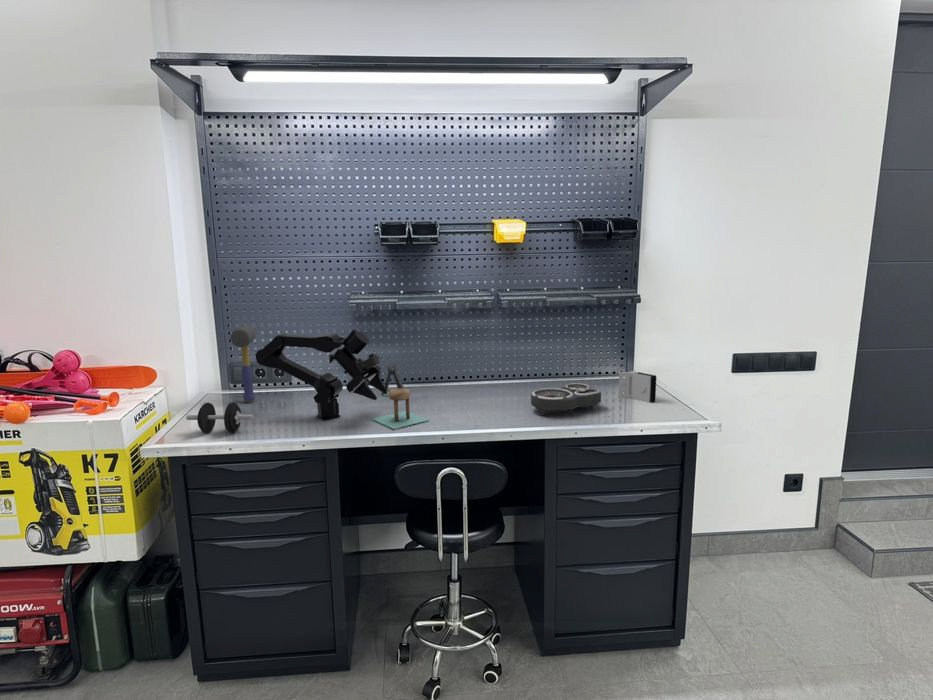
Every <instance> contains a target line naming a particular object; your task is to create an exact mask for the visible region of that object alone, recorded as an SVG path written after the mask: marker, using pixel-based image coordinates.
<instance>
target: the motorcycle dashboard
mask: <svg viewBox="0 0 933 700" xmlns="http://www.w3.org/2000/svg"><path fill="white" fill-rule="evenodd" d="M601 402H602V392H601V391H600V390H599V389H598V388H594V387H591V386H590V385H588V384H586V383H579V382H577V383H576V382H572V383H568V384H566V385H565V386H562V387H543V388H538V389H535V390H534V391H532V392H531V394H530V405H531V406H533V407H534V408H535V410H537V411H540V412H541V413H540V414H542V417H545V415H546V414H548V413H550V414H554V413H559V412H564V411H568V410H569V411H570V412H573V410H574V409H576V408H587V407H588V408H589V407H593V406H598V404H600V403H601Z"/></svg>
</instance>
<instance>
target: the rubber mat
mask: <svg viewBox="0 0 933 700" xmlns="http://www.w3.org/2000/svg"><path fill="white" fill-rule="evenodd" d="M409 412H410V419H406V410H404V411H398V417H399V422H395V415H394V413H392V414H391V413H390V414H387V415H383V416H378V417H374V418H372V421H373V420H374V421H373V422H375V421H376V422H375V423H377V422H378V424H379V425H382V424H383V425H382V426H384V425H385V426H384V427H386V426H387V428H388V427H390V428H392V429H396V430H398V429H397V428H400V427H404V428H406V427H405V426H408V427H410V426H409V425H412V426H414V425H413V424H416V425H418V424H417V423H420V424H423V423H422V422H425V423H427V422H426V421H429V422H430V419H428V418H426V417H424V416H421V415H419V414H416V413H414V412H411V411H409ZM390 428H389V429H390ZM392 429H391V430H392ZM400 429H401V428H400Z"/></svg>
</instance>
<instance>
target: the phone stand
mask: <svg viewBox="0 0 933 700" xmlns="http://www.w3.org/2000/svg"><path fill="white" fill-rule="evenodd" d="M392 368H394V369H392ZM397 368H398V366H397V364H396V363H395V362H394V363H390V364H389V366H388V368H387V377H386V380H385V383H384V386H385V388H386V390H387V391H389V386H390V381H391V377H392V376H393V378H394V381H395V383H396V387H397V388H396V389H399V388H403V389H405V387H404V384H403V382H402V380H401V377H400V375H399V372H398V369H397ZM383 394H387V392H386V393H383V392H381V396H382V395H383Z"/></svg>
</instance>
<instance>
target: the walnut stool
mask: <svg viewBox="0 0 933 700" xmlns="http://www.w3.org/2000/svg"><path fill="white" fill-rule="evenodd" d="M388 391H389V400H391V401H393V411H394V413H393V414H394V415H395V422H399V417H398V413H399V401H405V411H406V419H410V412H411V411H410V389H408V388H404V389H403V388H399V389H398V388H393V389H390V390H388Z"/></svg>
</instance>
